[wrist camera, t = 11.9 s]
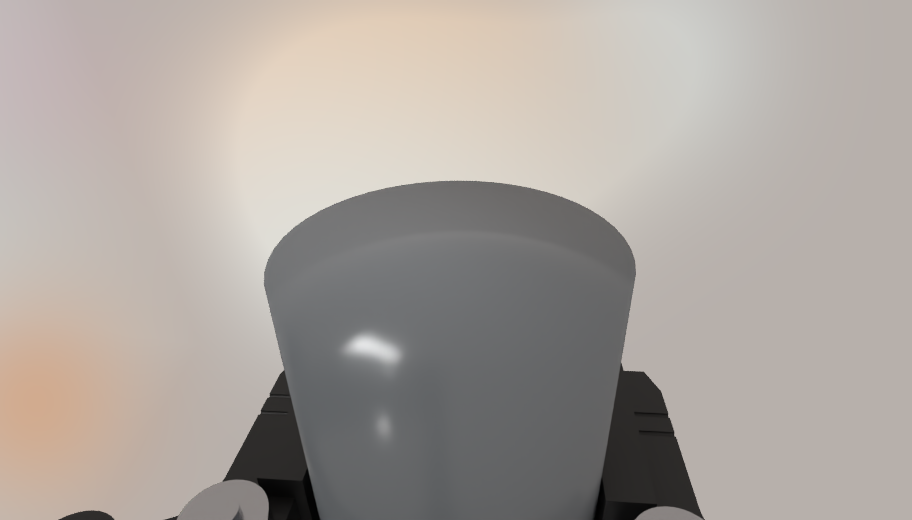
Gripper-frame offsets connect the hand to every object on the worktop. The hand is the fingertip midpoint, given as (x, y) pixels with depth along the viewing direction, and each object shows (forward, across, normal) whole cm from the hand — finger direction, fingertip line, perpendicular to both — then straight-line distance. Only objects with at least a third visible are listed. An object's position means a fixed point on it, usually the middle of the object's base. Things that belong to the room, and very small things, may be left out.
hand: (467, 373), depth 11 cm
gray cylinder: (-3, 0, +6) cm, 7 cm away
